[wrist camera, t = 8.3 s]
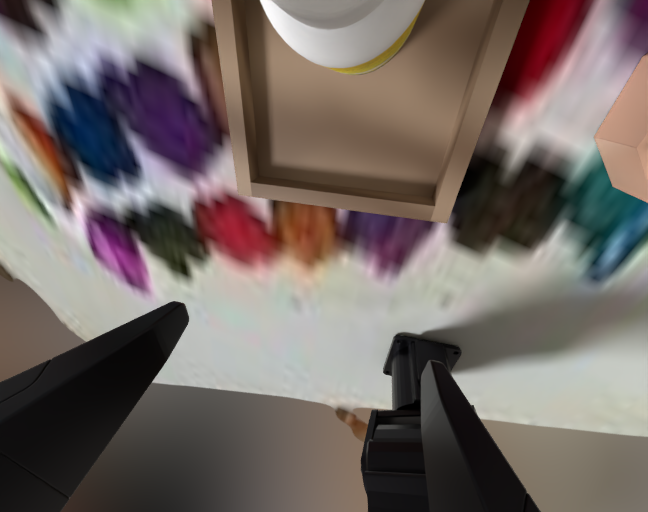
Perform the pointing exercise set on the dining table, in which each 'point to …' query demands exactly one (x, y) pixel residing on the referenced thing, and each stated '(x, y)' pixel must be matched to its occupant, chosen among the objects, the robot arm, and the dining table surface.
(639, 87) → the tan octagonal bowl
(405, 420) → the robot arm
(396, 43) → the supplement bottle
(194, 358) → the dining table surface
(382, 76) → the tray
